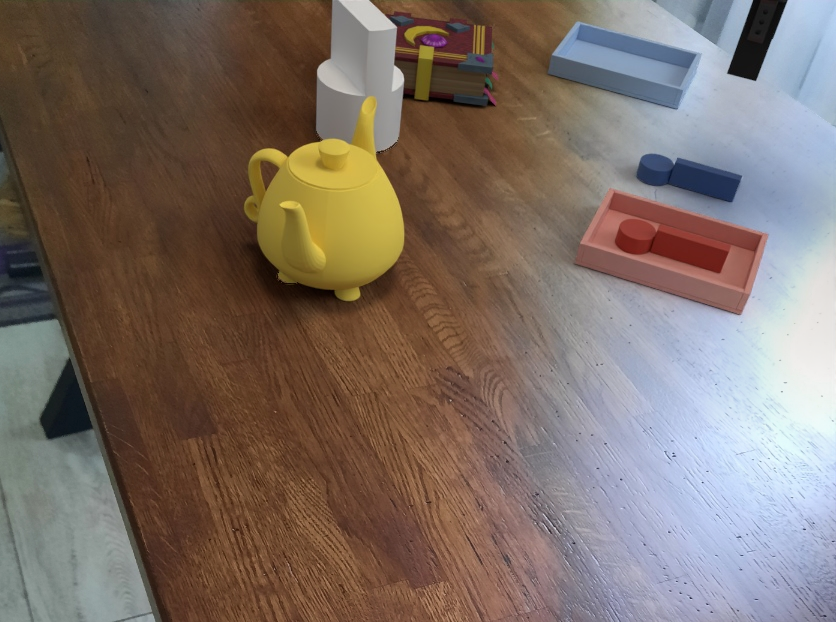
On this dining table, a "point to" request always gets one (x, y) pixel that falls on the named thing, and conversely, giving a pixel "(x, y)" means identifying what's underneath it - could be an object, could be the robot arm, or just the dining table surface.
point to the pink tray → (665, 272)
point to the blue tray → (625, 64)
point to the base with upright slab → (359, 74)
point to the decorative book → (444, 58)
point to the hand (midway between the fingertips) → (751, 54)
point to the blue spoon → (688, 176)
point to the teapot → (328, 212)
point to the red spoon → (671, 244)
